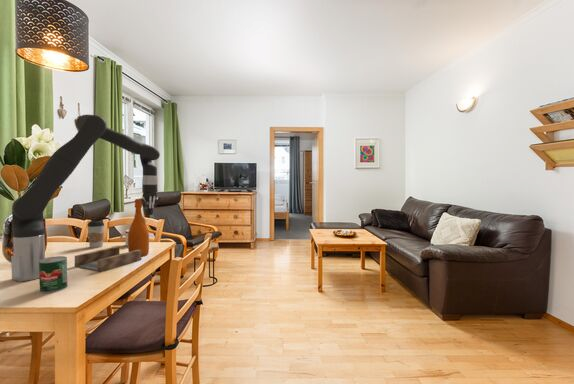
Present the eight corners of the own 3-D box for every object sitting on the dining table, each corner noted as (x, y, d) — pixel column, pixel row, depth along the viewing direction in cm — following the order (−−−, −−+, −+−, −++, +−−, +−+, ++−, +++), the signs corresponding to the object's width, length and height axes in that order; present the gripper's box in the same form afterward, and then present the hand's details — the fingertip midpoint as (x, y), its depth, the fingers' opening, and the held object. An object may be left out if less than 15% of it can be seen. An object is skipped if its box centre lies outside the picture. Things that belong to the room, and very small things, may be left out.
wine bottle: (143, 257, 142) (142, 199, 141) (124, 257, 142) (123, 199, 141) (152, 252, 152) (152, 198, 150) (135, 252, 152) (134, 198, 151)
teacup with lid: (144, 243, 174) (144, 224, 174) (138, 246, 165) (138, 227, 165) (123, 243, 173) (123, 225, 172) (117, 246, 164) (116, 227, 163)
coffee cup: (85, 248, 158) (84, 223, 158) (91, 245, 166) (90, 221, 166) (101, 248, 160) (101, 222, 160) (106, 244, 168) (106, 220, 168)
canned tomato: (66, 283, 106) (65, 255, 106) (69, 288, 101) (68, 259, 100) (38, 288, 101) (37, 259, 100) (40, 295, 95) (39, 263, 95)
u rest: (101, 271, 119) (101, 260, 119) (74, 266, 126) (74, 255, 126) (141, 259, 138) (141, 250, 138) (116, 255, 145) (116, 246, 145)
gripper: (144, 184, 145) (144, 216, 145) (164, 184, 157) (164, 214, 158) (134, 183, 148) (134, 215, 148) (154, 183, 160) (154, 213, 160)
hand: (149, 214), depth 153 cm, fingers closed
